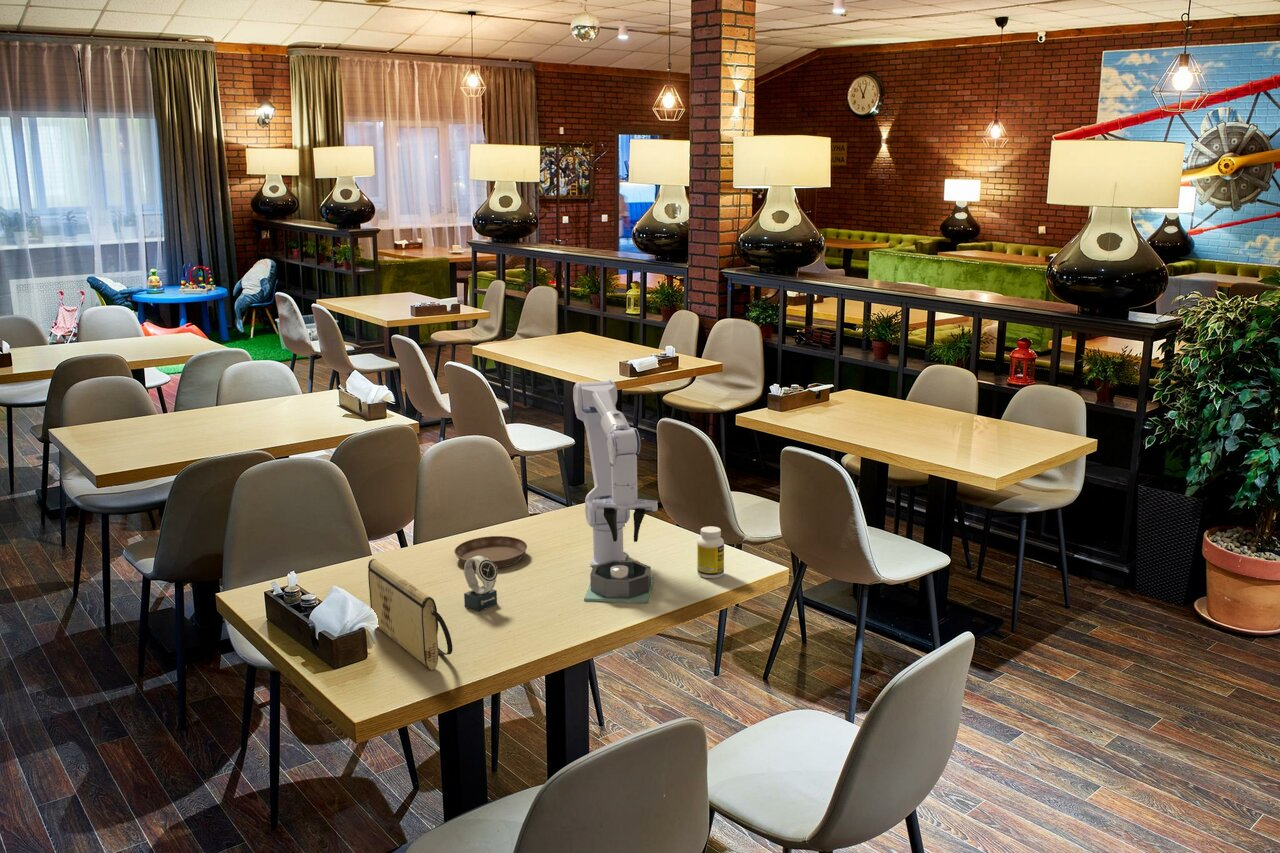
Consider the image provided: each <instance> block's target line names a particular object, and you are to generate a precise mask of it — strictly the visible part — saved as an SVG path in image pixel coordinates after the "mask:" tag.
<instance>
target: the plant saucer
mask: <svg viewBox="0 0 1280 853" xmlns="http://www.w3.org/2000/svg"><path fill="white" fill-rule="evenodd" d="M527 549H528V544H527V543H526V542H525V541H524V540H523V539H520V538H516V537H512V536H502V535H491V536H481V537H477V538H472V539H468V540H466V541H464V542H462V543H460V544H458V545H457V546H456V547H455V548H454V552H453V553H454V555H455V556H456V557H457V559H458V560H459V561H460V562H461V563H462V564H464V565H465V562H466V561H467V560H468V559H470V558H473V557H475V556H483V557H485V558H487V559H489V560H490V561H492V562H493V563H494V564H495V565H496V566H497V569H500V568H505V567H509V566H512V565H513V564H516V563H517V562H518V561H520V560H521V559H522V557H523V556H524V555H525V553H526V551H527ZM473 568H474V569H476V565H475V560H474V561H473V563H472V569H473Z"/></svg>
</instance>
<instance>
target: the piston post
mask: <svg viewBox="0 0 1280 853" xmlns="http://www.w3.org/2000/svg"><path fill="white" fill-rule="evenodd" d="M610 574H611V579H616V580H628V567H627V566H623V565H616V566H613V567H611V568H610Z"/></svg>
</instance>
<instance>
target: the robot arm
mask: <svg viewBox="0 0 1280 853" xmlns="http://www.w3.org/2000/svg"><path fill="white" fill-rule="evenodd" d="M572 394H573V395H572V397H573V398H572V400H573V404H574V405H573V406H574V412H575V415H576V418H577V419H578V420H580V421H582V422H583V424H584V427H585V432H586V439H587V445H588V446H587V447H588V452H589V459H590V464H591V465H590V466H591V471H592V479H593V485H594V486H593V487H594V488H592V489H591V490H590V491H589V492H588V493H587V494H586V496H585V499H584V503H585V504H584V505H585V508H584V509H585V510H584V512H585V514H584V515H585V519H586V523H587V524H588V526H589V527H591V528H592V539H593V540H592V541H593V542H592V543H593V544H592V545H593V547H592V548H593V549H592V550H593V556H592V559H591V561H590V564H589V565H590V567H591V566H592V567H594V565H598V564H601V563H605V562H608V561H612V560H626V559H627V556H628V551H625V550H624V528H626V524H627V523H628V522H629V520H630V518H631V511H633V515H632V516H633V542H634V543H637V542H638V540H639V532H640V528H641V524H642V523H643V520H644V517H645V515H646V512H647V511H651V512H657V511H658V500H653V499H652V500H651V499H643V498H638V457H637V456H638V455H639V454H640V451H641V437H640V433H639V432H638V429H637V428H636V427H635V428H634V427H631V426H630V425H629V423H628V420H627V419H626V417H625V414H624V413H622V411H620V410H618V409H617V407H616V405H617V402H618V389H617V385H616V383H615V382H614V381H613V380H612V379H609V380H601V381H590V382H586V381H585V382H578V381H577V382H575V384H574V386H573V389H572Z"/></svg>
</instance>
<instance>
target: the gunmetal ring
mask: <svg viewBox="0 0 1280 853" xmlns="http://www.w3.org/2000/svg"><path fill="white" fill-rule="evenodd" d="M616 565H623V566H627V567H628V578H629V580H616V579H611V574H610V568H611V567H613V566H616ZM651 577H652V567H651V566H649V565H647V564H645V563H642V562H641V561H638V560H626V559H625V560H612V561H608V562H605V563H601V564H598V565H594V566H592V569H591V572H590V577H589V578H590V583H591V591H592V592H594V593H596V594H598V595H600V596H602V597H604V598H621V599H630V598H634V597H637V596H640V595H643V594H646V593H649V590H650V586H651Z"/></svg>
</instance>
